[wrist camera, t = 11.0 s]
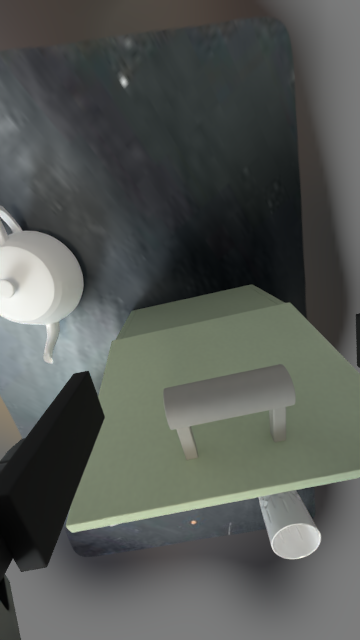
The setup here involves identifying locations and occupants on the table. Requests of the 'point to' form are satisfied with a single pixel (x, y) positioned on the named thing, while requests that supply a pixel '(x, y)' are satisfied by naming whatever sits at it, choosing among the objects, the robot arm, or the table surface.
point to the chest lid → (219, 418)
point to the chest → (196, 310)
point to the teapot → (37, 280)
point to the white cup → (289, 525)
